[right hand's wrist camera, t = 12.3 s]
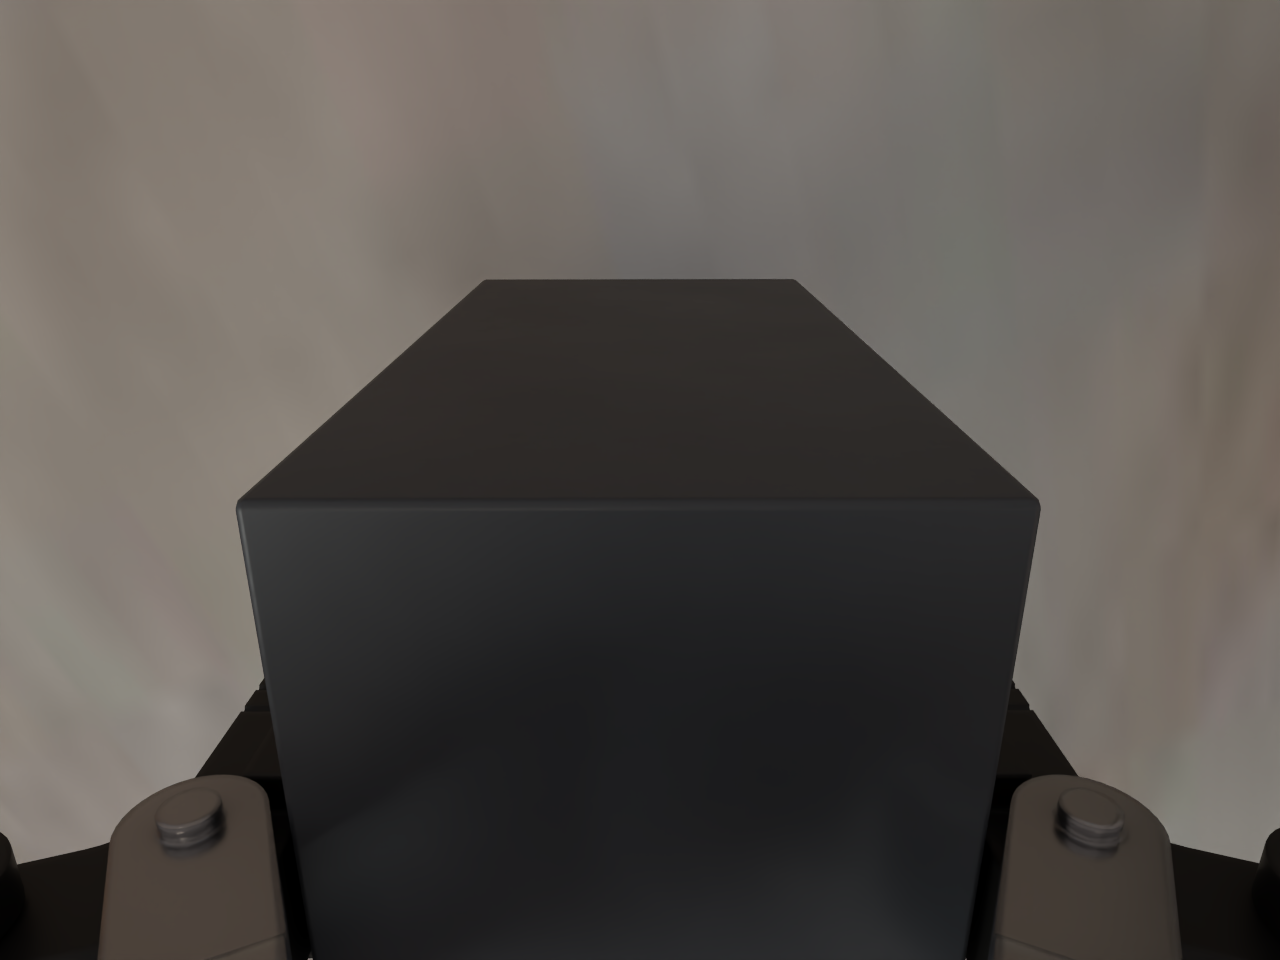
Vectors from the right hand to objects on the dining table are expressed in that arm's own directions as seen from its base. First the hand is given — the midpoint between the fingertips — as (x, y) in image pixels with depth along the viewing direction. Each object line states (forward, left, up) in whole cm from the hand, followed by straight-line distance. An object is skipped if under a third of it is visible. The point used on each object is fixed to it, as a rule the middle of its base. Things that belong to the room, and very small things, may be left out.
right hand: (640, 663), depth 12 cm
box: (+6, +6, -7) cm, 11 cm away
